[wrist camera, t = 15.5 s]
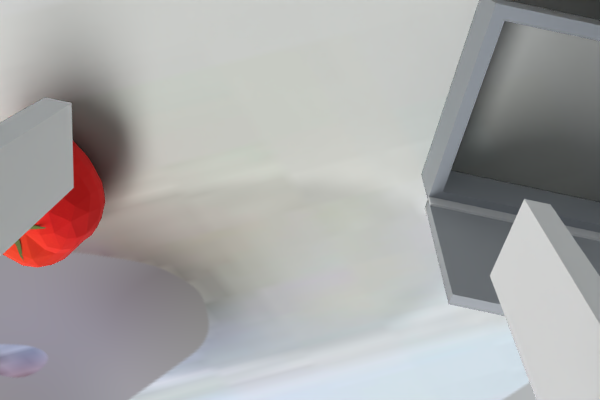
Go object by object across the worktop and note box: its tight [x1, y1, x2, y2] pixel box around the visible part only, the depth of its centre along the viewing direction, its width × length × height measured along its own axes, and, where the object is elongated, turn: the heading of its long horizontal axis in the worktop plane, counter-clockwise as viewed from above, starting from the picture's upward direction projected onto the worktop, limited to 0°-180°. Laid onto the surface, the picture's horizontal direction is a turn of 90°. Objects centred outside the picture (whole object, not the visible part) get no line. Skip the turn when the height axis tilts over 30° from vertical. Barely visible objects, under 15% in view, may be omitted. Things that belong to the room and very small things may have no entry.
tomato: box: [3, 141, 105, 267], centre depth 48 cm, size 11×13×10 cm
